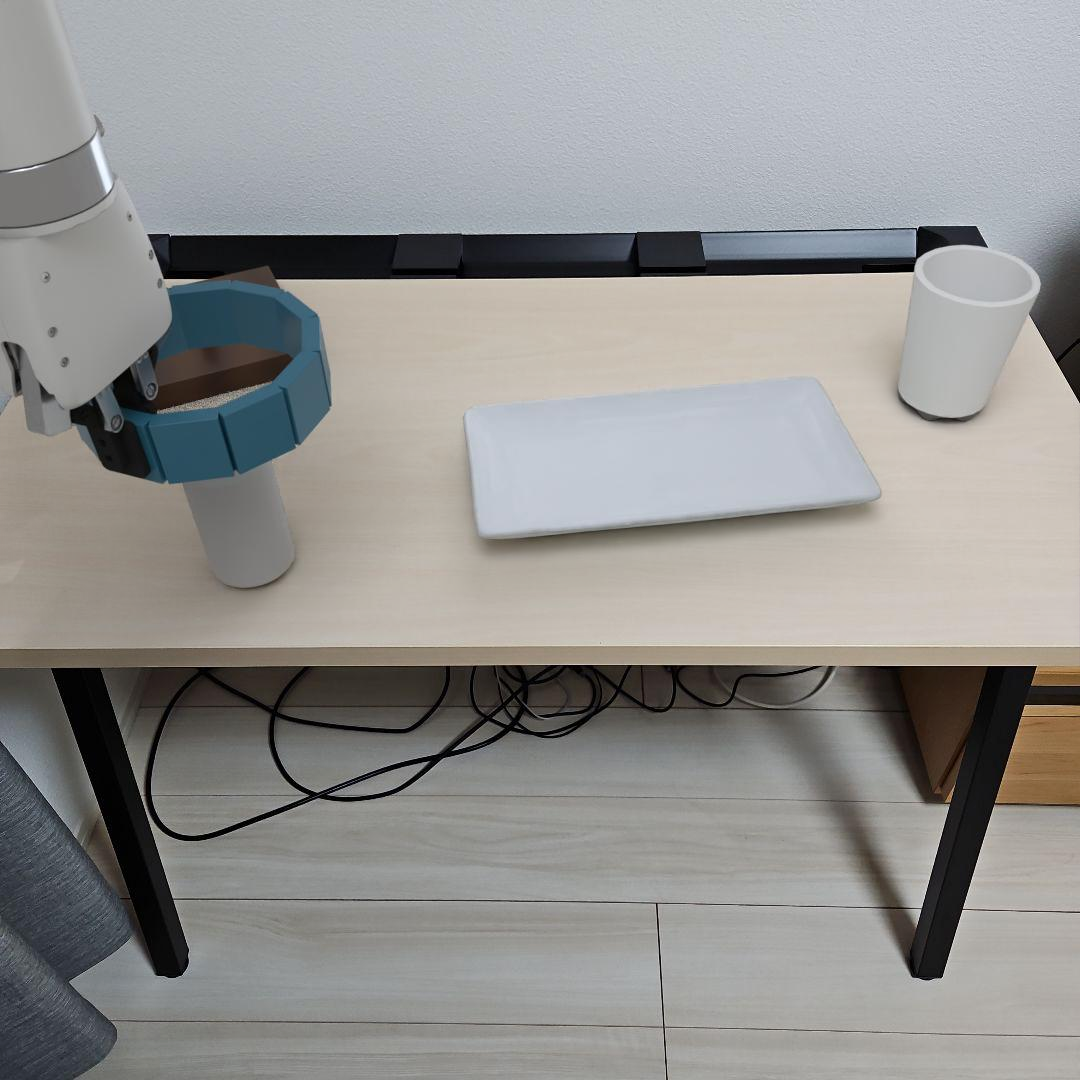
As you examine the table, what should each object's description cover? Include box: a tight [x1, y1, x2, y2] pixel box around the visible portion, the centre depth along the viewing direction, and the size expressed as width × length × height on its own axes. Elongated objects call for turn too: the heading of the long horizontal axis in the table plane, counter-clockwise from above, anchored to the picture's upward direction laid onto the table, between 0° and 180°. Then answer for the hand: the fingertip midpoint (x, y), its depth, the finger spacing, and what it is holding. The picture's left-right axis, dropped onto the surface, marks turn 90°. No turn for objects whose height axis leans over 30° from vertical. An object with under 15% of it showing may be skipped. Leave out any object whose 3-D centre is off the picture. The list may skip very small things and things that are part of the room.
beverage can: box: [181, 460, 296, 589], centre depth 77 cm, size 6×6×12 cm
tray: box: [462, 375, 883, 540], centre depth 86 cm, size 17×31×4 cm, turn 97°
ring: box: [75, 280, 333, 485], centre depth 69 cm, size 17×17×4 cm
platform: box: [152, 265, 293, 412], centre depth 101 cm, size 17×17×6 cm
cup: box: [897, 244, 1042, 422], centre depth 90 cm, size 10×10×13 cm
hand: (137, 460), depth 65 cm, fingers closed on ring, 1 cm apart
